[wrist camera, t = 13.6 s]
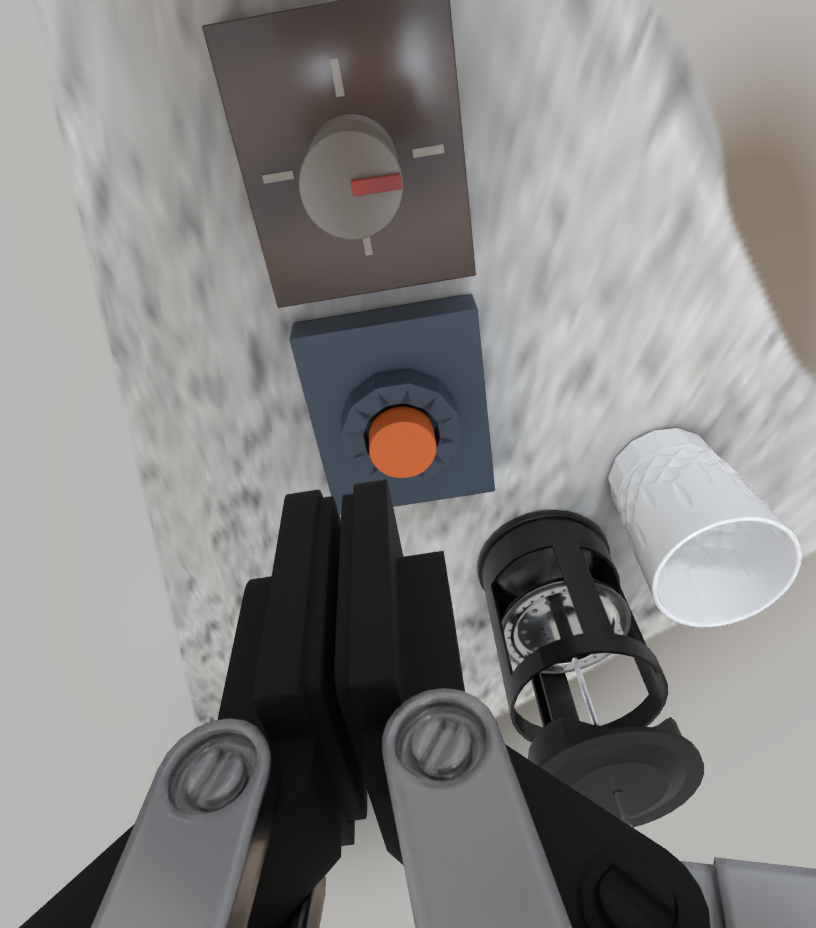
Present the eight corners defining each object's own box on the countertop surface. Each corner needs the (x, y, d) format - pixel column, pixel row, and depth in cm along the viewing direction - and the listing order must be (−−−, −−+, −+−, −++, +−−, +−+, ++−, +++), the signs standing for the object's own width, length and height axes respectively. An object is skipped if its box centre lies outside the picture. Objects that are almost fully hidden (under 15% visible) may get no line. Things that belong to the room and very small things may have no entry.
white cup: (594, 523, 47) (645, 634, 38) (603, 425, 42) (661, 526, 34) (708, 511, 47) (783, 620, 38) (729, 412, 42) (818, 510, 34)
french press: (487, 500, 45) (577, 861, 26) (624, 502, 46) (811, 855, 27) (467, 624, 51) (529, 986, 32) (588, 624, 52) (717, 978, 33)
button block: (292, 322, 37) (285, 353, 34) (471, 293, 37) (482, 321, 34) (337, 495, 44) (335, 534, 41) (489, 471, 44) (500, 509, 40)
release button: (363, 411, 37) (363, 427, 35) (429, 400, 37) (432, 417, 35) (375, 465, 39) (375, 483, 37) (437, 455, 39) (440, 473, 37)
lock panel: (215, 24, 30) (200, 25, 27) (441, -17, 29) (448, -20, 27) (283, 288, 36) (277, 309, 34) (468, 257, 36) (476, 276, 33)
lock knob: (318, 216, 31) (310, 249, 27) (298, 121, 29) (286, 141, 25) (403, 203, 31) (409, 234, 27) (390, 106, 29) (395, 123, 25)
